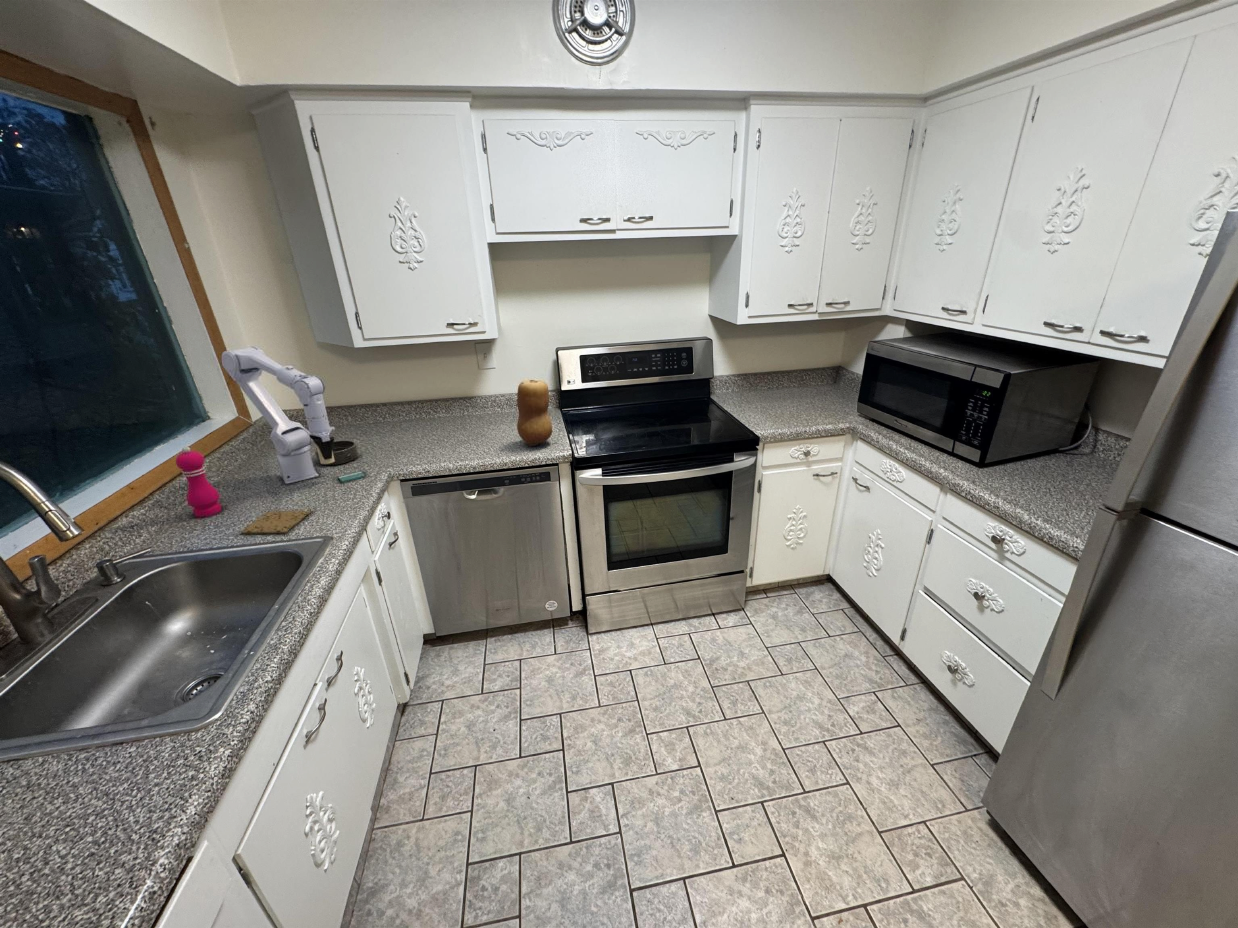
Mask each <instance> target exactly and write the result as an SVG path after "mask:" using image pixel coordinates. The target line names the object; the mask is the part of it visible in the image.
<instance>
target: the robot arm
mask: <svg viewBox="0 0 1238 928" xmlns="http://www.w3.org/2000/svg"><path fill="white" fill-rule="evenodd" d="M221 366H222V367H223V368H224V369H225V371H226V373H228V375H229V376H230V377H231V379H232V380H233V381H234V382H236V384H237V385H238V386H239V388H240V389H241V390H242V391H243V393H244V394H245V395H246V397H247V398H248V399H249V401H251V403H252V404H253V405H254V406H255V408H256V410H257V411H258V412H259V413H260V414H261V416H262V417H263V418H264V419H265V421H266V422H267V423H268V424H269V425H270V427H271V428H272V431H271V433H270V435H269V439H270V441H271V442H272V444H273V446H274V448H275V450H276V451H277V453H280V454H278V455H275V456H276V461H277V464H278V468H279V471H280V472H279V475H280V477H281V478H282V479H283V482H284V483H285V484H286V485H288V484H292V483H296V482H301V481H305V480H308V479H314V478H317V477H319V473H318V472H317V471H316V469H315V468H314V464H313V463H314V462H313V459H312V456H311V455H312V454H311V452H310V449H311V448H312V447H311V445H312V444H313V442H314V444H315V443H316V444H317V446H318V447H319V449H320V451H321V454H322V456H323V458H324V459H325V460H327V459H331V458H332V446H333V442H334V441H335V437H334V436H330V434H331V433H332V431H335V427H334V426H330V422H329V417H328V413H327V409H326V404H325V401H324V396H323V394H324V393H325V391H326V385H325V382H324V381H323V380H322V378H321V377H319V376H318V375H315V374H314V375H307V374H306V373H304V372H302V371H299V370H298V369H296V368H294V366H292V365H284V366H283V365H281V364H279V363H278V362H276V361H275V360H273V359H272V358H270V357H268V356H267V355H266V353H265V352H264V350H263V349H260V348H258V347H257V346H250V347H244V348H239V349H234V350H233V349H232V350H225V351H223V352H222V354H221ZM263 372H266V373H267V374H270V375H272V376H275V377H276V378H275V379H276V380H277V382H279V383H280V384H282V385H284V386H286V387H288V388H290V389H291V390H293V391H294V393H295V394H296V397H297V398H298V399H299V402H300V404H302V408H303V411H304V415H305V419H306V423H307V427H308V429H307V428H305V427H304V426H303V425H302V424H301V423H300V422H297V421H293V420H291V419H290V418H288V416H287V415H286V414H285V413H284V411H283V409H281V407H280V406H279V404H278V403H277V402H276V401H275V400H274V398H273V397H272V395H271V394H270V393H269V392H268V390H267V389H266V388H265V386H264V385H263V384H262V383H261V381H260V380H259V378H260V376H262V374H263ZM316 444H315V445H316ZM317 446H316V447H317Z"/></svg>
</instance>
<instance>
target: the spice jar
mask: <svg viewBox="0 0 1238 928" xmlns="http://www.w3.org/2000/svg"><path fill="white" fill-rule="evenodd" d="M314 444H315V446H316V447H317V450H318V454H319V458H320V462H321V464H320V465H322V464H329V463H332V462H334V461H335V459H334V455H333V451H332V458H331V459H327V460H325V459H324V458H323V456H322V454H321V451H320V449H319V447H318V446H317V444H316V443H314Z"/></svg>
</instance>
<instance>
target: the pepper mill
mask: <svg viewBox="0 0 1238 928" xmlns="http://www.w3.org/2000/svg"><path fill="white" fill-rule="evenodd" d="M204 464H205V458H204V456H203V454H202V453H200V452H198V451H194V450H191V448H190V447H189V446H183V447H182V448H181V453H180V454H178V455H177V456H176V458H175V465H176V467H178V468H179V469H180V470H181V473H182V476H183V477H185V478H186V480H187V483H188V487H187V488H188V489H187V493H186V501H187V505H189V506H190V507H192V508H193V509H192V512H193V515H194V517H197V518H205V517H209V516H213V515H217V514H218V513H220V512H221V511H222V509H223V508H222V506H221V503H220V502H219V500H220V497H221V496H220V493H219V491H218V490H217V489H216V488H215V487H214V486H213V485H211V483H210V482H209V481H208V479H207V477H206V474H205V473H206V471H207V470H206V467H205V466H203V465H204Z"/></svg>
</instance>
